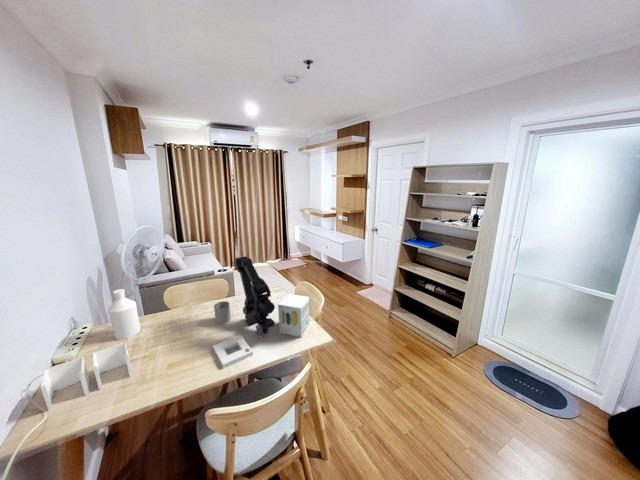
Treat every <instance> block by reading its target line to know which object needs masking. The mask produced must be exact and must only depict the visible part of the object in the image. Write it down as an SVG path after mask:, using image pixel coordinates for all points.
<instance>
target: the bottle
mask: <svg viewBox="0 0 640 480" xmlns="http://www.w3.org/2000/svg"><path fill="white" fill-rule="evenodd" d="M125 292H126V291H125V289H124V288H120V289H115V290H113V293H112V294H113V295H114V298H115V300H114V301H113V302H112V304H111V305H109V307H108V309H107V312H108V315H109V320H110V325H111V328H112V331H113V335H114V338H115V339H116V338H117V339H116V340H119V339H122V340H126V338H127V339H130V338H133V337H134V335H135V336H136V334H137V333H138V334H140V332H141V331H140V330H142V328H141V322H140V318H139V317H140V316H139V313H138V307H137V302H136V301H135V300H132V299H130V298H127V297H125V296H126V295H125ZM138 334H137V335H138ZM132 336H133V337H132ZM129 337H130V338H129Z"/></svg>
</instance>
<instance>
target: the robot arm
mask: <svg viewBox="0 0 640 480" xmlns="http://www.w3.org/2000/svg"><path fill="white" fill-rule="evenodd" d="M233 266H234V268H235V270H236V271H237V272H238V273H239V275H240V278H241V284H242V288H243V291H244V296H245V300H244V307H243V308H242V311H243V312H242V313H243V314H244V318H245V322H246V324H247V325H248V327H249V326H253V325H255V324H257V325H260V326H261V327H262V329H263V333H264V334H265V333H266V332H267V330H268V328H269V329H270V328H273V327H276V326H275V325H276V322H275V320H273V319H272V318H271V317H269V316H270V315H271V314H272V313H273V312H274V311H275V308H276V307H275V304H274V303H273V302H272V301H271V299H269V298H270V297H272V294H271V293H272V292H271V290H270V287H269V285H268V284H267V282H266V281H265V280H264V279H263V278H261V277H260V276H259V273H258V271H257V270H256V268H255V265H253V261H252V259H251V257H247V256H245V255H244V256H240V257H236V258H234V260H233ZM268 317H269V318H268Z"/></svg>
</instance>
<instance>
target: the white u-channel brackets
mask: <svg viewBox="0 0 640 480" xmlns="http://www.w3.org/2000/svg"><path fill="white" fill-rule="evenodd" d="M124 364H125V365H126V367H127V371H128V376H129V377H130V376H132V377H133V376H134V374H133V369H132V365H131V359H130V355H129V351H128V346H127V342H126V341H124V342H121V343H118V344H115V345H112V346H109V347H106V348H104V349H100V350H98V351H94V352H92V368H93V372H94V375H95V376H94V377H95V380H96V383H97V387H98V390H99V389H100V388H103V389H104V387H103V384H102V379H101V374H100V373H102V372H105V371H107V370H110V369H112V370H114V369H113V368H115V369H117V368H119V366H120V367H122V365H123V366H125V365H124ZM116 367H117V368H116ZM110 371H111V370H110ZM107 372H108V371H107ZM105 373H106V372H105ZM102 374H103V373H102ZM79 381H81V382H79ZM77 382H79V383H80V384H81V385H82V389H83V393H84V396H85V395H86V394H88V393H89V394H90V376H89V372H88V368H87V364H86V361H85V357H84V356H80V357H77V358H74V359H71V360H69V361H64V362H62V363H59V364H57V365H54V366H50V367H48V368H45V369H44V371H43V375H42V379H41V383H40V390H41V393H42V395H43V398H44V403H45V404H46V407H47V410H48V411H49V410H50V409H53V410H54V406H53V404H52V403H53V399H52V396H53V397H54V393H55V392H54V391H56V392H58V391H60V390H59V389H61V388H63V389H65V388H64V387H66V388H68V387H67V386H69V385H71V386H73V385H72V384H74V383H76V384H78V383H77ZM74 385H75V384H74ZM69 387H70V386H69ZM57 390H58V391H57ZM61 390H62V389H61ZM53 392H54V393H53ZM86 396H87V395H86ZM51 402H52V403H51ZM50 411H51V410H50Z"/></svg>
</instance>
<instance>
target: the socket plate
mask: <svg viewBox="0 0 640 480" xmlns="http://www.w3.org/2000/svg"><path fill="white" fill-rule="evenodd" d="M212 350H213V352H214V353H215V355H216V357H217V359H218V361H219V363H220V364H221V366H222V369H226V368H228V367H229V366H232V365H234V364H236V363H238V362H241V361H242V360H243V361H244V360H245V359H249V358H250V357H252V356H254V351H253V349H252V347H250V345H249V344H248V343H247V341H246V340H245V339H244V337H243V336H242V335H241V334H239V335H237V336H234V337H232V338H229V339H227V340H224V341H221V342H219V343H217V344H214V345H212Z"/></svg>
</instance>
